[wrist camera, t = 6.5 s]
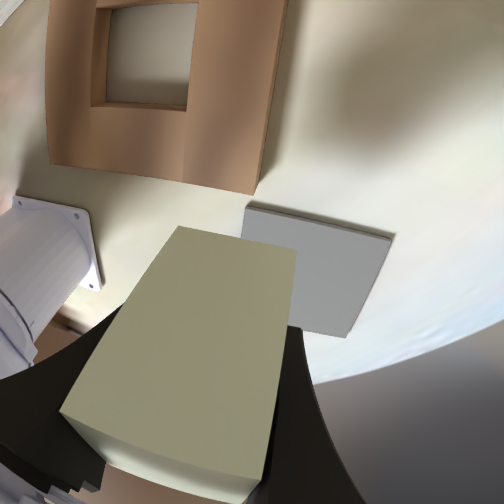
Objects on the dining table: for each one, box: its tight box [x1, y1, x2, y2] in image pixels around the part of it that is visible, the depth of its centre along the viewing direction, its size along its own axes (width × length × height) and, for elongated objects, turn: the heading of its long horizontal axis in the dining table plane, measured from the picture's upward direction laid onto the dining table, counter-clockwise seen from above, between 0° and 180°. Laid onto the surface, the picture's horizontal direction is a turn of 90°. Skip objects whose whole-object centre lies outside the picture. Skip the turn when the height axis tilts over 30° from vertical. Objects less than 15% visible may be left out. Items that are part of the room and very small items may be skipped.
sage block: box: [59, 226, 297, 504], centre depth 10 cm, size 4×4×8 cm
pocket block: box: [45, 0, 288, 195], centre depth 13 cm, size 14×14×2 cm
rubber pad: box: [241, 206, 391, 338], centre depth 21 cm, size 9×9×1 cm
